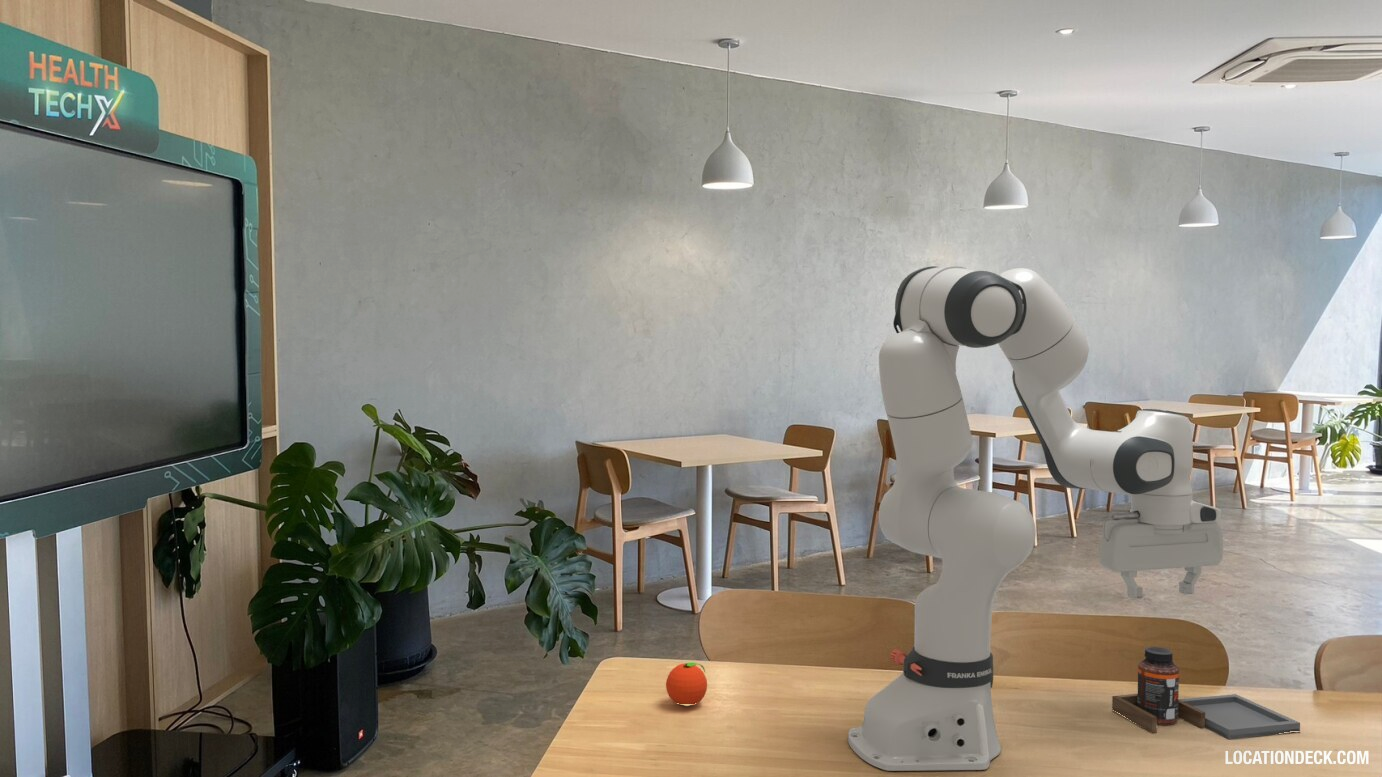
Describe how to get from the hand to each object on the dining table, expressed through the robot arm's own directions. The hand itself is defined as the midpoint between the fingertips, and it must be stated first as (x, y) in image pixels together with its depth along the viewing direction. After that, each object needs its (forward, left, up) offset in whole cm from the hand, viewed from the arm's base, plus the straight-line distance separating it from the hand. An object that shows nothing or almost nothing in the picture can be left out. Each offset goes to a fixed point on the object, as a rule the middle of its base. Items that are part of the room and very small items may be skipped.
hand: (1160, 595), depth 154 cm
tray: (+11, -3, -20) cm, 23 cm away
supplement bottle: (0, 0, -20) cm, 20 cm away
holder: (0, 0, -20) cm, 20 cm away
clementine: (-73, +23, -20) cm, 79 cm away
